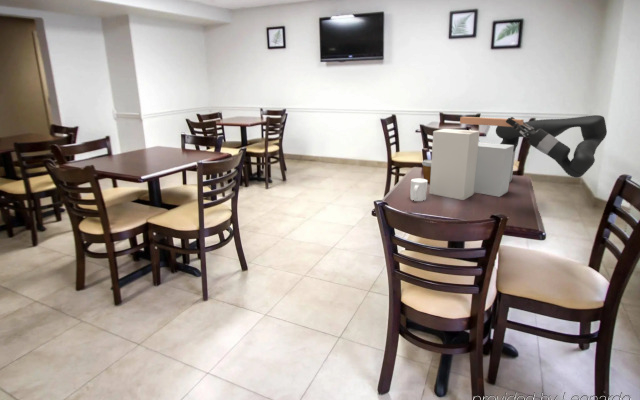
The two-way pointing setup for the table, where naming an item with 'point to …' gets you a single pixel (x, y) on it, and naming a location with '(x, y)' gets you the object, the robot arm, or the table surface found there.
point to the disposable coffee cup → (427, 170)
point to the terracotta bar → (488, 121)
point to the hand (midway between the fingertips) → (508, 119)
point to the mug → (418, 189)
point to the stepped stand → (468, 165)
